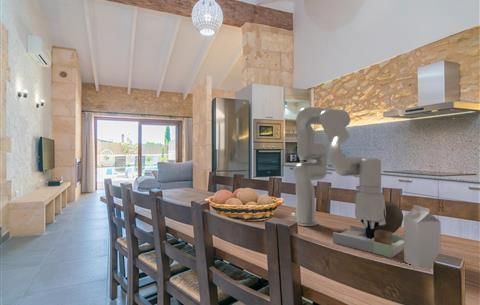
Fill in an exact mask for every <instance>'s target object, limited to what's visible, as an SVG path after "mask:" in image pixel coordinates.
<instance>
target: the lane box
mask: <svg viewBox="0 0 480 305" xmlns="http://www.w3.org/2000/svg"><path fill="white" fill-rule="evenodd" d="M349 228H350V229H348V230H345V231H343V232H341V233H339V232H335V231H333V232H332V243H334V244H338V245H341V246H345V247H348V248H352V249H356V250H360V251H363V250H364V252H367V251H368V252H367V253H371V252H372V254H375V253H376V255H379V254H380V255H379V256H382V255H383V256H384V257H387V258H392V259H393V257H395V256H396V255H397V254H399V253H400V252H402V251H404V235H402V234H401V235H400V234H395V233H392V245H387V244H383V243H379V242H374V238H373V239H370V238H367V235H366V227H362V226H361V227H360V226H355V225H350V227H349ZM375 231H376V230H375ZM383 256H382V257H383Z"/></svg>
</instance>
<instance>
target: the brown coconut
mask: <svg viewBox="0 0 480 305" xmlns="http://www.w3.org/2000/svg"><path fill="white" fill-rule="evenodd" d="M384 201H385V209H386V219H385V222H386V224H385V225H378V226H377V227H376V228H375V230H376V231H377V230H384V231H389V232H392V234H395V233H396V232H397V231H398V230H399V229H400V227H401V226H402V224H403V223H404V214H403V211H402V209H401V208H400V207H399V206H398V205H396V203H393V201H388V200H387V201H386V200H384ZM370 225H371V221H370Z"/></svg>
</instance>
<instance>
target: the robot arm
mask: <svg viewBox="0 0 480 305" xmlns="http://www.w3.org/2000/svg"><path fill="white" fill-rule="evenodd" d="M295 120H296V122H295V124H296V130H297V138H296V139H297V146H296V147H297V148H296V150H297V151H296V152H297V157H298V158H299V159H300V160H303V161H304V162H299V163H297V164H296V165H295V166H294V168H293V176H294V180H295V212H291V214H290V217H291V218H293V220H292V222H293V221H297V222H298V225H297V226H300V227H301V226H302V227H315V226H318V225H319V221H318V220H316V211H315V210H316V199H315V198H316V195H315V194H316V191H315V185H314V184H313V183H312V182H313V181H321V180H323V179H325V178H326V176H327V171H328V159H329V162H330V164H331V166H332V168H333V170H334V171H335V172H336V174H338V175H339V176H342V177H352V176H353V177H355V176H359V184H358V185H357V186H356V187H355V188H356V190H358V192H357V193H356V198H355V203H354V204H355V205H354V217H355V220H356V221H358V222H361V223H362V225H363V228H366V235H367V238H370V239H373V238H374V232H375V228H376V227H377V226H378V225H385V224H386V222H385V219H386V209H385V201H386V200H385V198H384V194H383V193H382V161H381V159H380V158H377V157H358V156H357V157H356V156H354V157H353V156H351V157H349V156H347V157H345V155H344V153H343V151H342V148H341V145H342V144H344V143H346V142H347V141H348V139H349V137H350V133H349V131H348V129H347V128H346V127H348V126H349V125H350V122H351V116H350V114H349V113H348V112H347V110H345V109H338V108H337V109H335V108H330V107H329V108H327V107H316V106H305V107H302V108H300V110H298V111H297V115H296V117H295ZM312 125H316V126H317V125H320V126H321V127H322V129H323V130H324V132H325V134H326V137H327V139H328V141H329V145H328V148H327V145H325V143H324V142H322V141H315V131H314V128H313V126H312ZM309 160H311V162H309ZM305 161H308V162H305ZM370 221H371V225H370Z"/></svg>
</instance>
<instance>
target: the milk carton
mask: <svg viewBox="0 0 480 305" xmlns="http://www.w3.org/2000/svg"><path fill="white" fill-rule="evenodd" d="M441 226H442V225H441V221H440V219H438V218H437V217H436V216H434V215H433V214H432V213H431V209H430V208H428V207H427V208H426V207H424V206H421V205H416V204H413V208H411V209H410V211H409V212H407V213H406V214H405V215H403V236H404V249H403V259H404V260H403V262H404V263H406V264H408V265H409V264H411V265H415V266H418V267H421V268H427V269H432V263H433V260H434V259H435V257H436V256H437V255H438V254H441V255H442V251H441V250H442V242H441V241H442V237H441V236H442V234H441V231H442V229H441V228H442V227H441ZM411 265H410V266H411Z"/></svg>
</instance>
